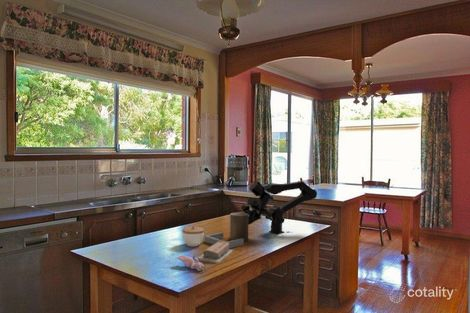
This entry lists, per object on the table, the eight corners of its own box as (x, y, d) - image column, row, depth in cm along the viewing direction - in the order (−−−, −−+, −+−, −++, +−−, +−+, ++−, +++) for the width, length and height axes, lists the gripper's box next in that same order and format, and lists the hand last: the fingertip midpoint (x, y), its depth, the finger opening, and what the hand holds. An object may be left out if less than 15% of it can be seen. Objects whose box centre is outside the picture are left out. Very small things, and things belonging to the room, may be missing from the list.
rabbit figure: (209, 272, 136) (182, 259, 145) (211, 258, 136) (184, 245, 144) (199, 277, 131) (171, 263, 140) (201, 262, 131) (173, 249, 139)
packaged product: (214, 239, 163) (233, 242, 160) (214, 249, 164) (233, 252, 160) (197, 250, 147) (219, 253, 143) (197, 261, 147) (218, 264, 143)
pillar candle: (248, 242, 175) (249, 213, 175) (229, 241, 176) (229, 212, 175) (248, 237, 185) (248, 209, 185) (230, 237, 185) (230, 209, 185)
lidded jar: (194, 240, 177) (195, 222, 177) (208, 244, 170) (208, 226, 169) (177, 244, 170) (177, 225, 170) (190, 249, 162) (191, 229, 162)
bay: (221, 237, 183) (221, 232, 183) (243, 244, 171) (243, 238, 171) (204, 241, 175) (204, 235, 175) (226, 249, 163) (226, 243, 163)
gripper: (243, 190, 195) (228, 212, 188) (268, 194, 181) (253, 217, 174) (253, 203, 201) (238, 224, 193) (277, 207, 187) (263, 230, 180)
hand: (248, 224), depth 185 cm, fingers closed
